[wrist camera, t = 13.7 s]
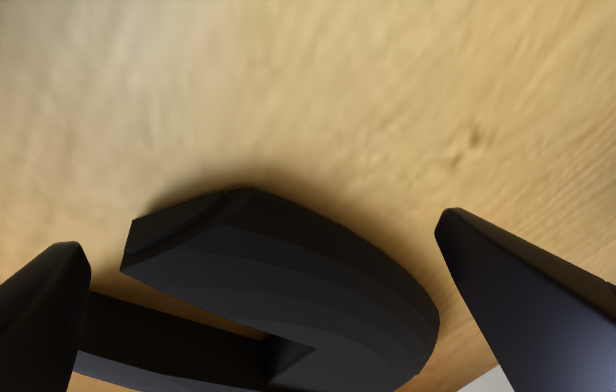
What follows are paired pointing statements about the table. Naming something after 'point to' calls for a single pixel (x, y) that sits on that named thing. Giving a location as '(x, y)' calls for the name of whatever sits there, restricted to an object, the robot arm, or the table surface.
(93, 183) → the table surface
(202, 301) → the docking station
